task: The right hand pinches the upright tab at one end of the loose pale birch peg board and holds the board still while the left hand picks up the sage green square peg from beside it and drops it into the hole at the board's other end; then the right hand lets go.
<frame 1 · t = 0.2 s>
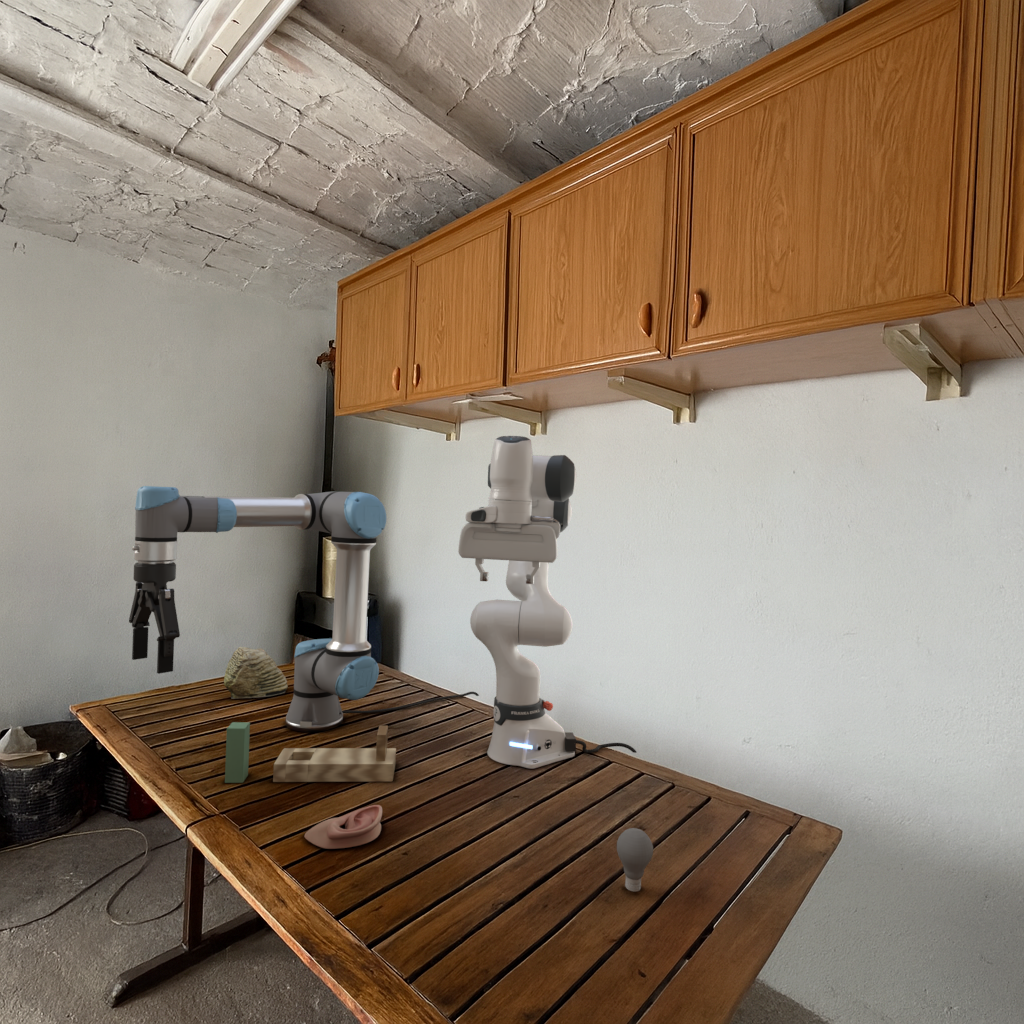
left hand: (151, 665, 130), 27 cm above the table, fingers open, 13 cm apart
right hand: (506, 582, 129), 48 cm above the table, fingers open, 8 cm apart
light bulb: (632, 890, 106), on the table
peg: (236, 779, 140), on the table
anatomical model: (343, 834, 119), on the table
peg board: (336, 773, 145), on the table
fossil: (255, 695, 198), on the table
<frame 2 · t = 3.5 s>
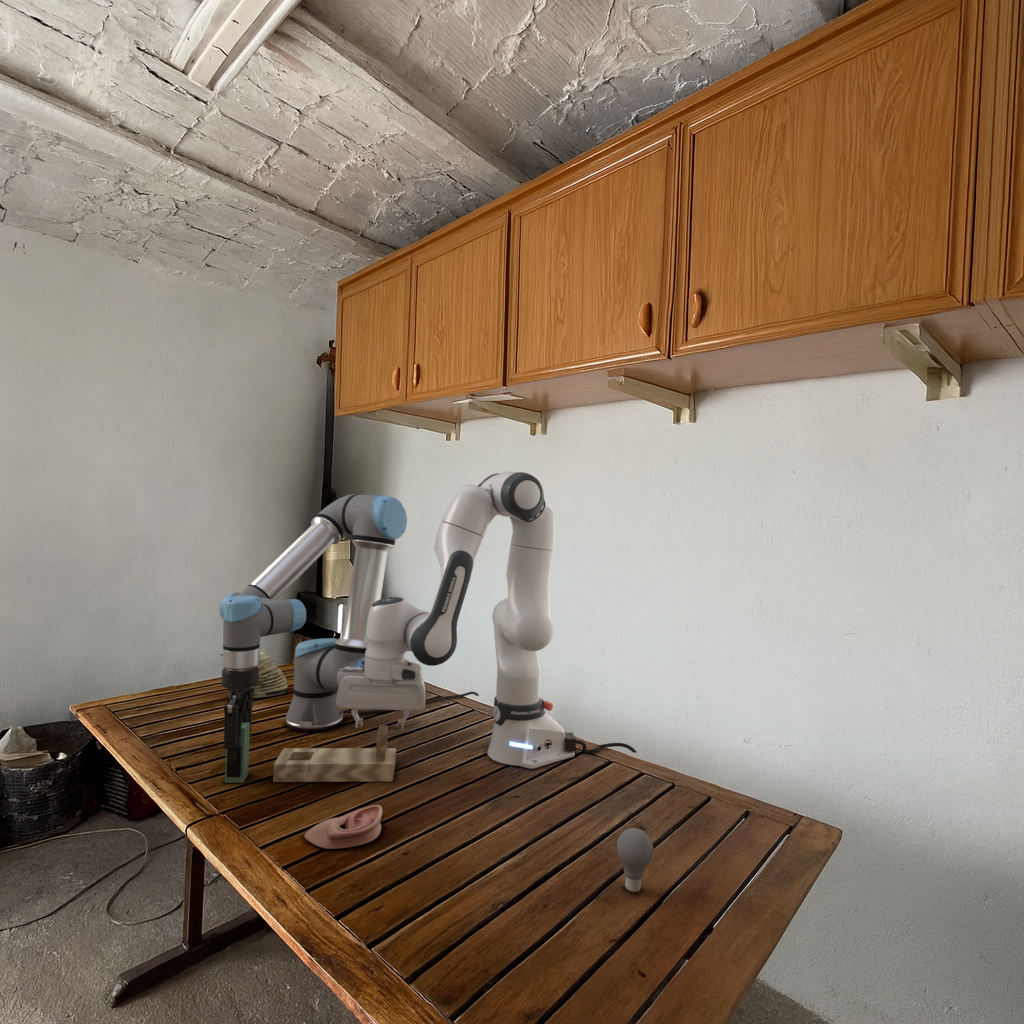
left hand: (236, 771, 140), 2 cm above the table, fingers closed on peg, 4 cm apart
right hand: (379, 727, 146), 11 cm above the table, fingers open, 8 cm apart
peg: (236, 779, 140), on the table, touching left hand
everything else where it was.
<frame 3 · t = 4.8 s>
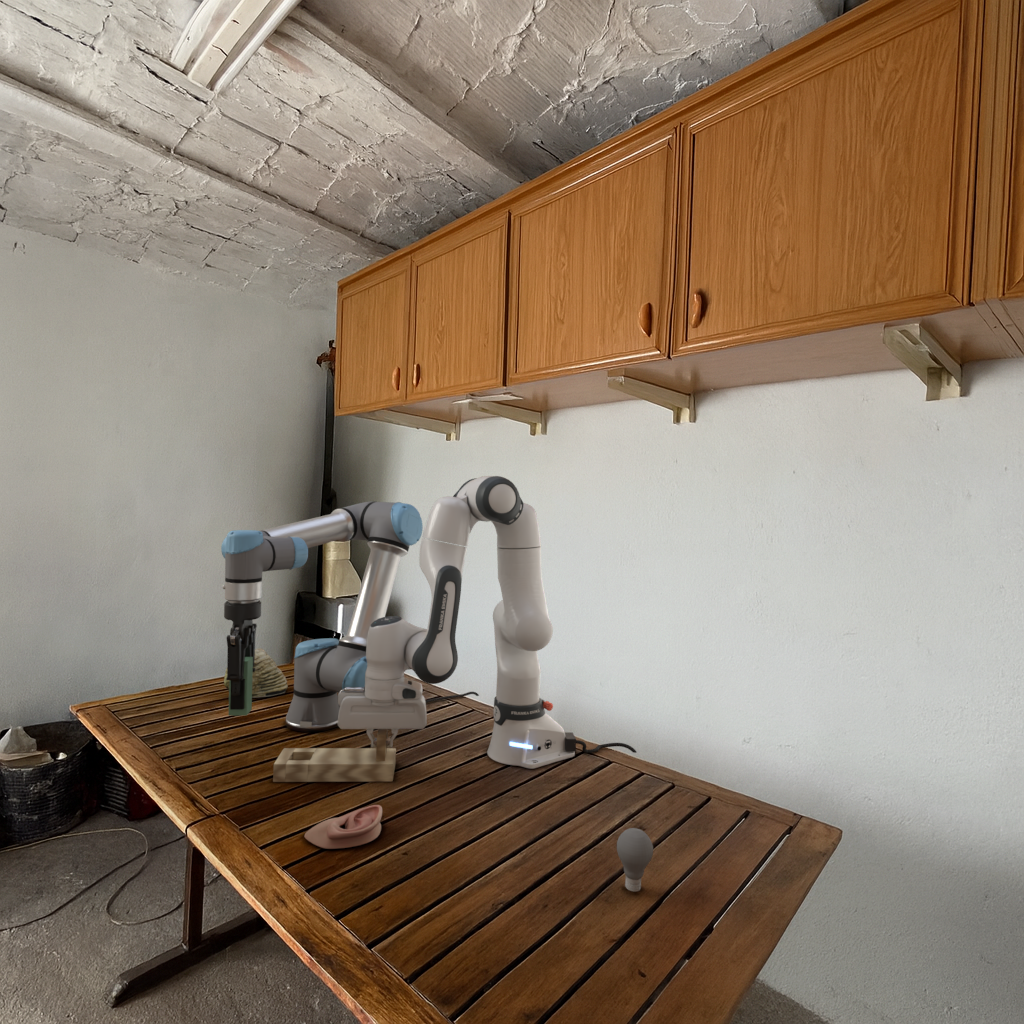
left hand: (240, 705, 140), 16 cm above the table, fingers closed on peg, 4 cm apart
right hand: (382, 746, 146), 6 cm above the table, fingers closed on peg board, 2 cm apart
peg: (240, 712, 140), point 15 cm above the table, touching left hand
peg board: (336, 773, 145), on the table, touching right hand
everything else where it was.
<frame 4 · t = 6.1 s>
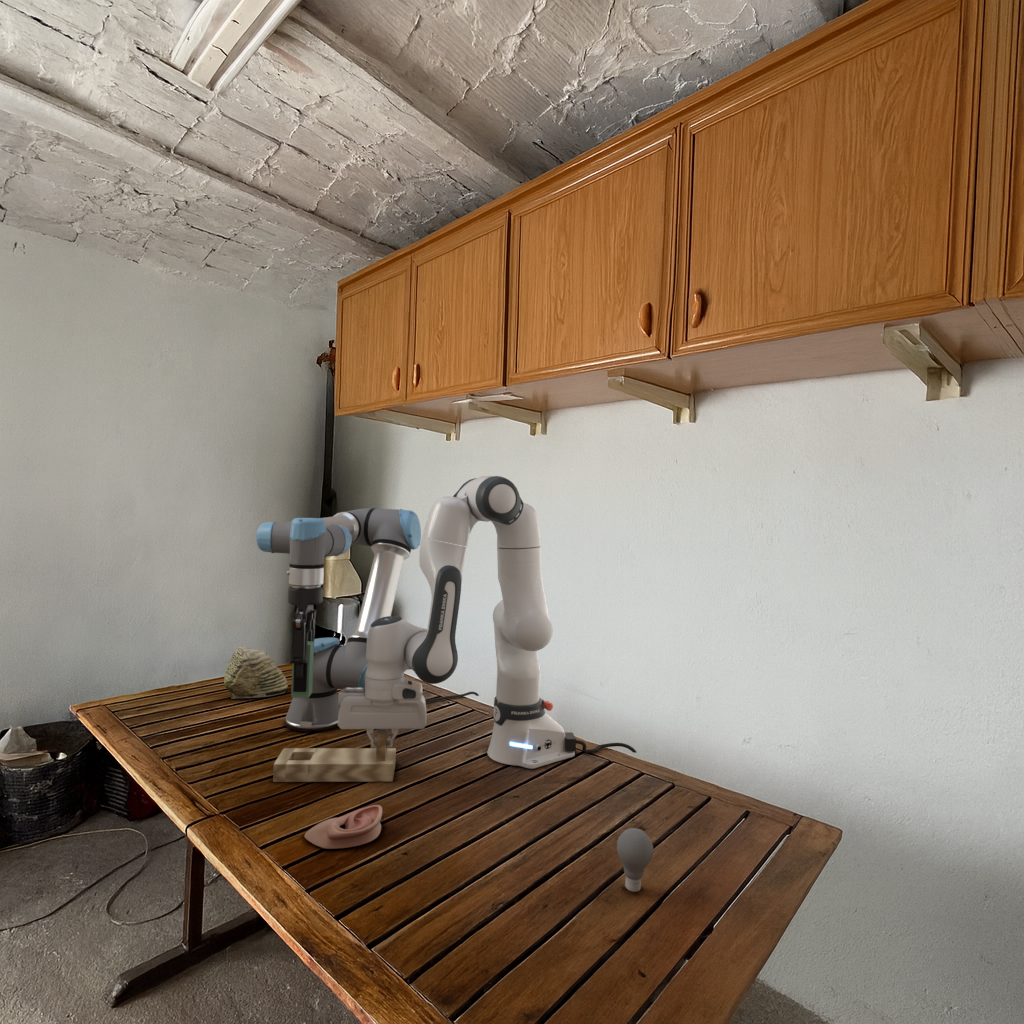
left hand: (302, 688, 144), 20 cm above the table, fingers closed on peg, 4 cm apart
right hand: (382, 746, 146), 6 cm above the table, fingers closed on peg board, 2 cm apart
peg: (301, 695, 144), point 18 cm above the table, touching left hand
peg board: (336, 773, 145), on the table, touching right hand
everything else where it was.
when the left hand's fingers open (6 cm above the table, at t = 8.9 s): peg drops 4 cm, resting in peg board.
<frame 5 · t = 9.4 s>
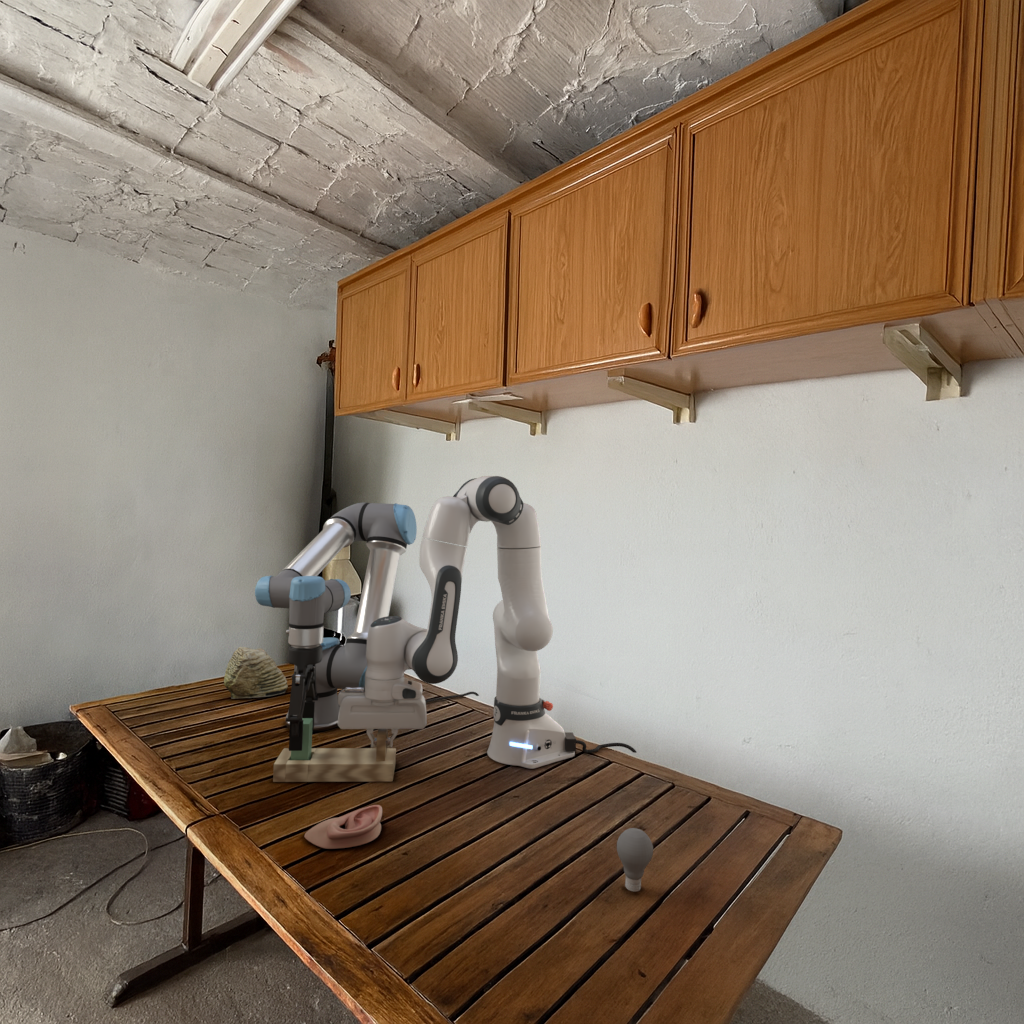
left hand: (301, 739, 144), 8 cm above the table, fingers open, 12 cm apart
right hand: (382, 746, 146), 6 cm above the table, fingers closed on peg board, 2 cm apart
peg: (300, 773, 145), resting in peg board
peg board: (336, 773, 145), on the table, touching right hand
everything else where it was.
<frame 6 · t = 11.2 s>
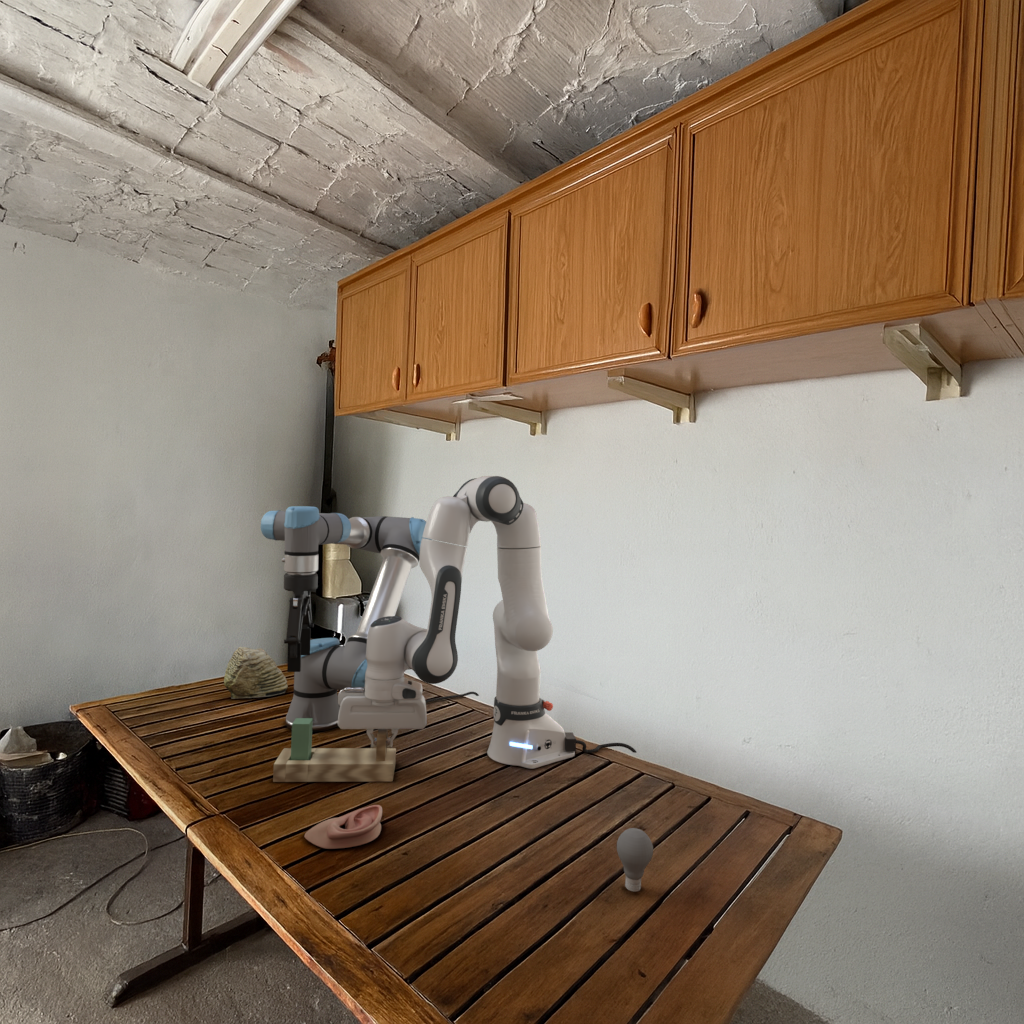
left hand: (299, 662, 148), 24 cm above the table, fingers open, 13 cm apart
right hand: (382, 746, 146), 6 cm above the table, fingers closed on peg board, 2 cm apart
peg board: (336, 773, 145), on the table, touching right hand
everything else where it was.
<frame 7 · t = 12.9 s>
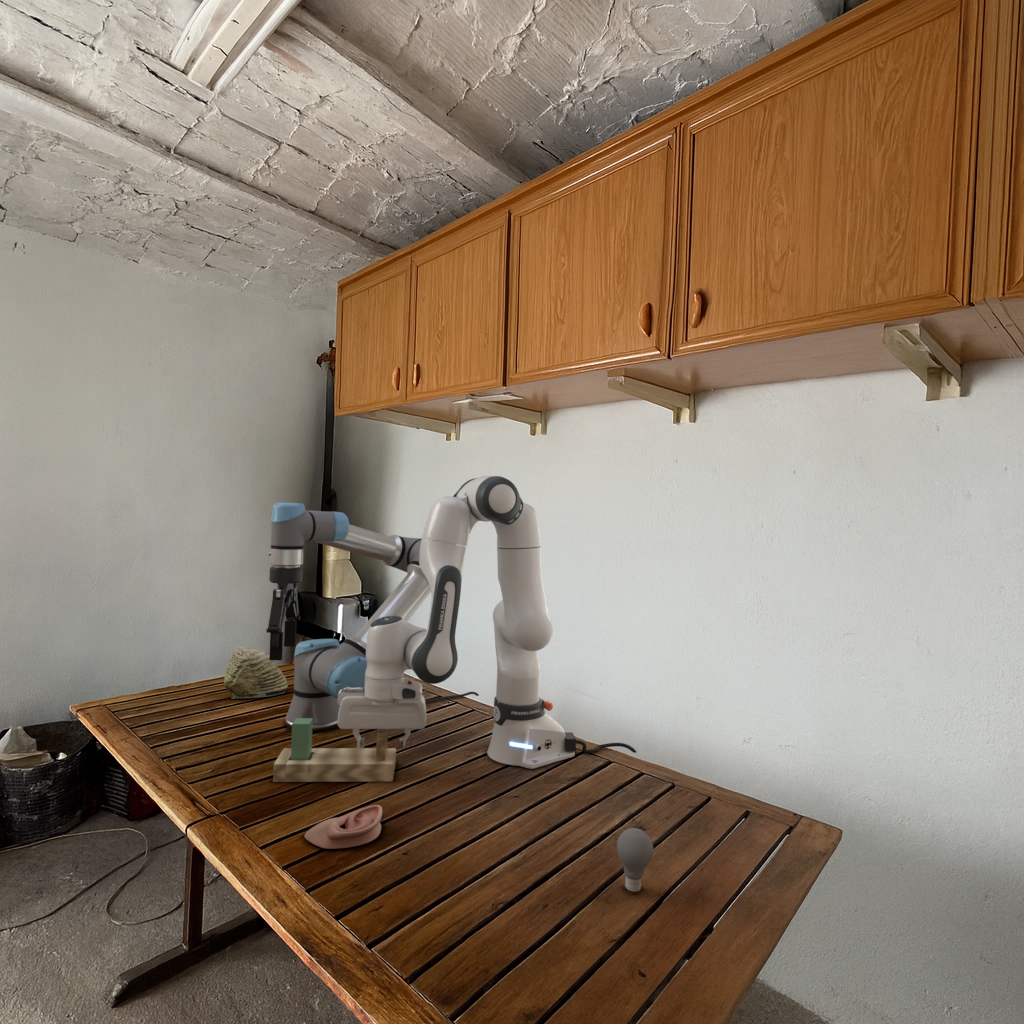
left hand: (283, 652, 154), 25 cm above the table, fingers open, 13 cm apart
right hand: (381, 746, 146), 6 cm above the table, fingers open, 8 cm apart
peg board: (336, 773, 145), on the table
everything else where it was.
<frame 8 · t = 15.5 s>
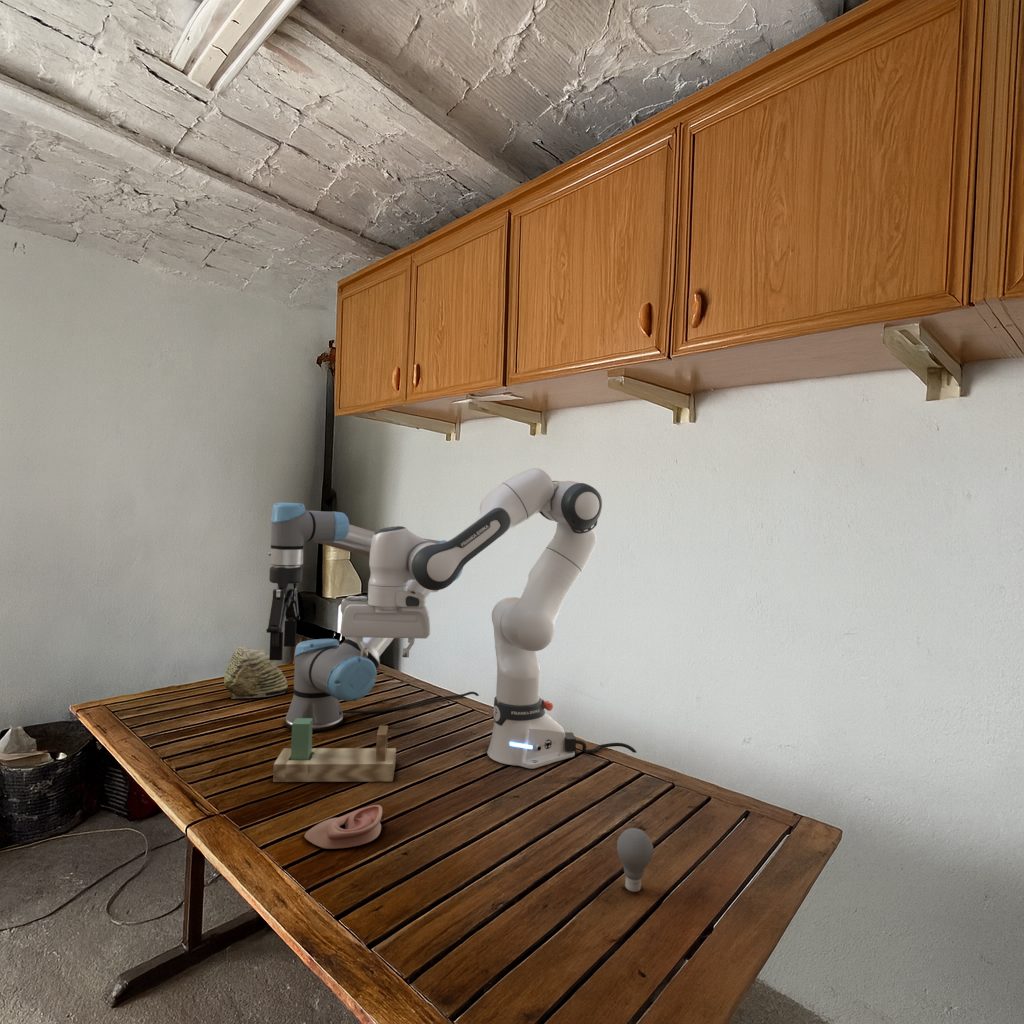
left hand: (283, 652, 154), 25 cm above the table, fingers open, 13 cm apart
right hand: (385, 656, 146), 27 cm above the table, fingers open, 8 cm apart
nothing on the table moved.
at the end: peg 0.0 cm from the target spot, resting in peg board; peg board moved 0.0 cm from its start; the left hand is holding nothing; the right hand is holding nothing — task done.
